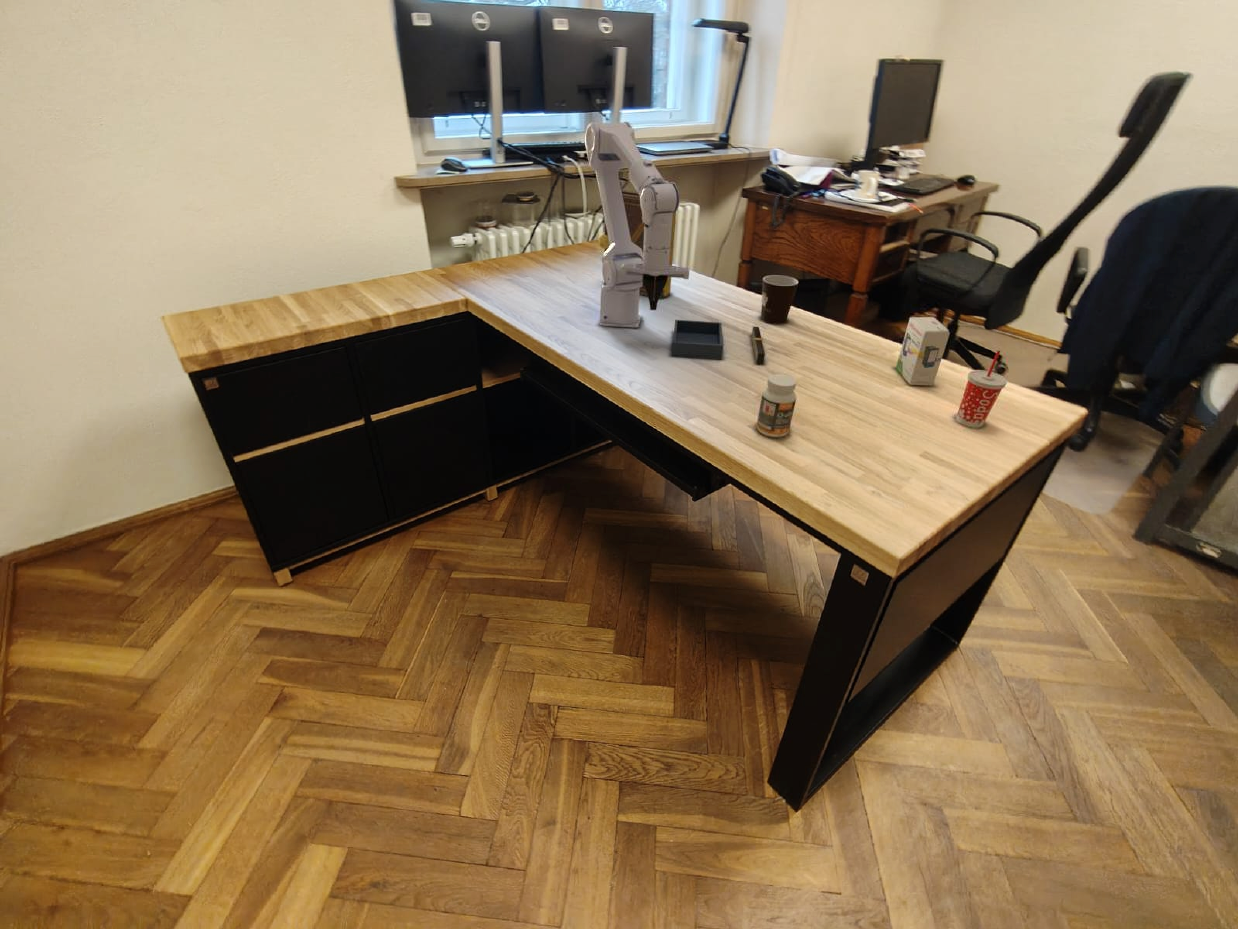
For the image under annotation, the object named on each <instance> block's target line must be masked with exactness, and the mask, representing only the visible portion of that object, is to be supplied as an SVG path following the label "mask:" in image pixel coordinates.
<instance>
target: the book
mask: <svg viewBox="0 0 1238 929" xmlns="http://www.w3.org/2000/svg"><path fill="white" fill-rule="evenodd" d="M621 191H622V197H623V202H624V207H625V212H626V217H627V222H628V227H629V233H630V238H631V242H633V243H634V244H635V245H637V246H638V247H640V248H641V249H642V252H643V247H644V225H645V223H643V220H642V209H641V205H640V195H639V194H638V192H637V191H633V190H632V191H631V190H625V189H621ZM676 216H677V211H676V212H675V213H673V218H672V232H671V246H670V261H669V265H672V266H673V260H674V259H673V258H674V257H673V256H674V246H675V231H676ZM598 245H599V247H600V248H602V249H604V250H603V251H604V253H605V252H606V251H607V249H608V248H609V247H610V241H609V236H608V231H607V226H606V221H605V220H604V231H602V232H601V233H600V234H599V236H598ZM604 253H603V254H604ZM655 280H656V276H655ZM603 285H607V284H606V283H605V281H604V280H603ZM671 289H672V277H668V278H667V283H666V285H665V287H664V289H663V291H662V293H661V295H660V297H659V300H661V299H662V300H663V299H666V298H668V297H669V296H671ZM639 296H644V297H648V295H647V292H646V289H645V287H644V285H643V283H642V287H640V289H639ZM654 298H655V283H654Z"/></svg>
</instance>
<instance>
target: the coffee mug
mask: <svg viewBox="0 0 1238 929" xmlns="http://www.w3.org/2000/svg"><path fill="white" fill-rule="evenodd" d="M798 285H799V280H798V279H796V278H794V277H791V276H788V275H779V274H771V275H766V276H764V277H763V278H762V290H761V310H760V320H761V321H762V322H764V323H768V324H773V325H782V324H785V323H786V322H787V321H788V316H789V314H790V311H791V307H792V305H793V301H794V298H795V294H796V292H797V288H798Z"/></svg>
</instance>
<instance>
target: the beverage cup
mask: <svg viewBox="0 0 1238 929" xmlns="http://www.w3.org/2000/svg"><path fill="white" fill-rule="evenodd" d="M1000 354H1001V350H998V349H997V350H996V352H995V355H994V358H993V360H992V363H991V365H990V367H989V369H988V370H983V369H975V370H971V371H969V372H968V375H967V378H966V379H967V382H966V385H965V388H964V392H963V395H962V398H961V400H960V404H959V407H958V410H957V413H956V416H955V420H956V422H957V423H959V424H960V425H963V426H965V427H969V428H974V429H975V428H981V427H983V426H984V424H985V422H986V420H987V418H988V416H989V414H990V412H991V411H992V409H993V407H994V405H995V404H996V402H997V399H998V397H999V395H1000V393H1001V392H1002V390H1003V389H1005V387H1006V386H1007V384H1008V380H1007V378H1005V376H1003V375H1000V374H999V373H996V372H993V370H994V367H995V365H996V363H997V360H998V358H999V356H1000Z"/></svg>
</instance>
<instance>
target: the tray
mask: <svg viewBox="0 0 1238 929" xmlns="http://www.w3.org/2000/svg"><path fill="white" fill-rule="evenodd" d="M671 347H672V348H671V357H678V358H691V359H692V358H693V359H706V360H707V359H708V360H719V361H721V360H722V358H723V350H724V338H723V325H722V322H721V321H720V322H719V321H718V322H717V321H703V320H689V319H688V320H686V319H674V327H673V336H672V346H671Z"/></svg>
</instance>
